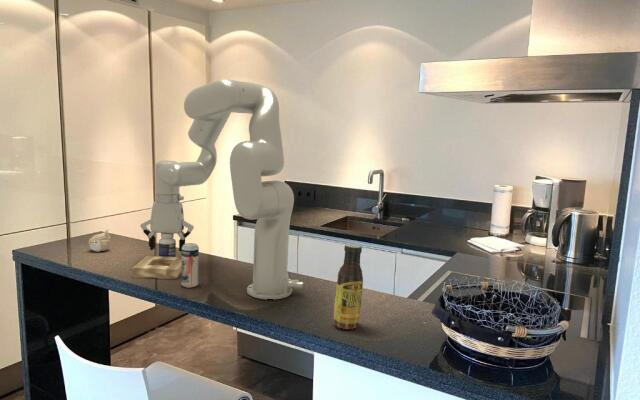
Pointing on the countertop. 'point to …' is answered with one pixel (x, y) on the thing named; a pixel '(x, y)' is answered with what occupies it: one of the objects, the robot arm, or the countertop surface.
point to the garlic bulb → (100, 242)
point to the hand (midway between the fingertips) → (167, 249)
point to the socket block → (158, 267)
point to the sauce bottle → (349, 289)
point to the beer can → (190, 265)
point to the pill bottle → (167, 245)
